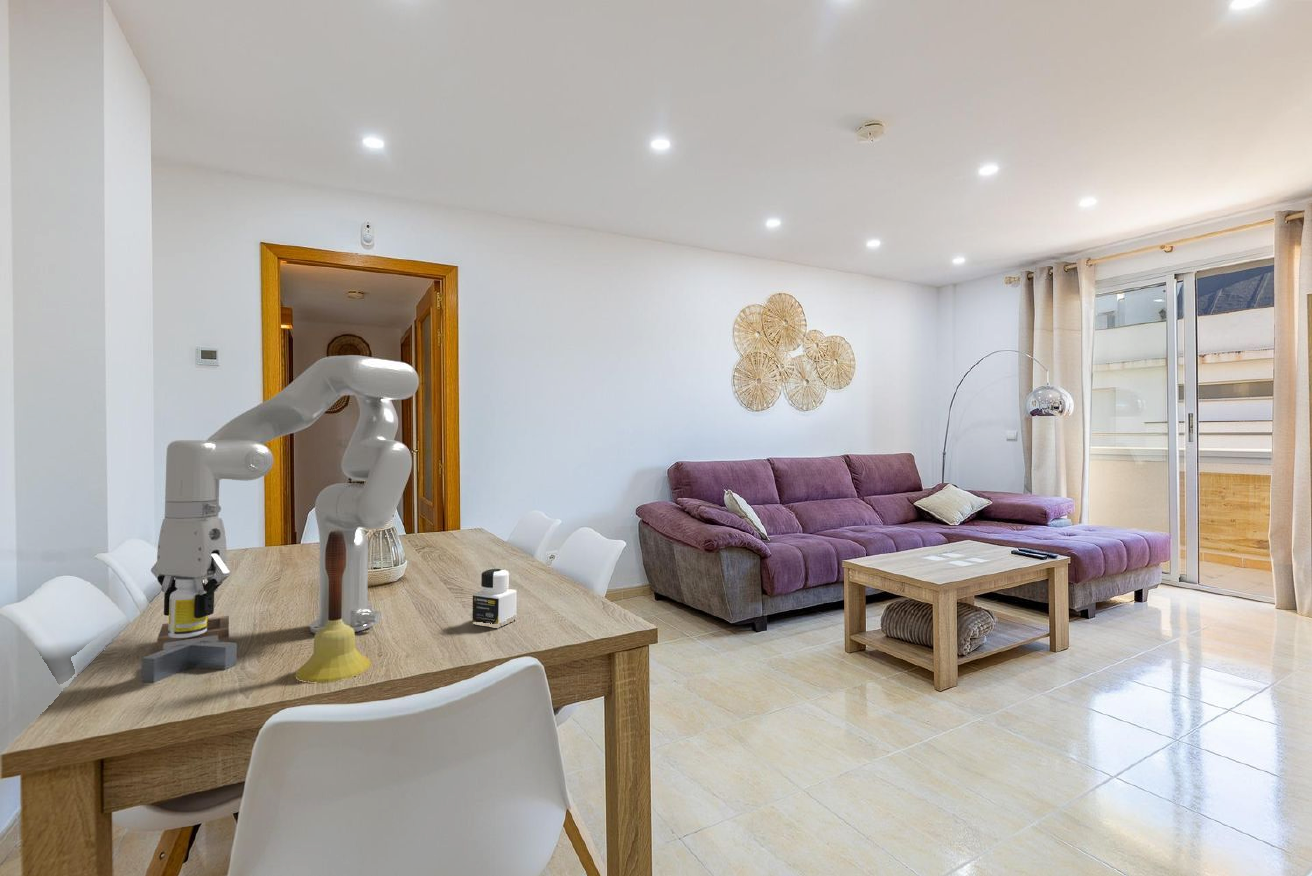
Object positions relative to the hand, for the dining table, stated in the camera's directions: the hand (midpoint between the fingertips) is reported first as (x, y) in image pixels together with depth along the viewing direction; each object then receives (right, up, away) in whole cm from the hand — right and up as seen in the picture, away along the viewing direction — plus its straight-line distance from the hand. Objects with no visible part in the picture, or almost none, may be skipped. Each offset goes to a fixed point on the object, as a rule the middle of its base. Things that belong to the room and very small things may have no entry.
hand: (188, 613), depth 106 cm
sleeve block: (-11, -11, +16) cm, 22 cm away
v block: (-2, -11, +3) cm, 12 cm away
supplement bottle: (0, -4, 0) cm, 4 cm away
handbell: (+23, -11, +4) cm, 26 cm away
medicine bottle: (+45, -12, +33) cm, 56 cm away
